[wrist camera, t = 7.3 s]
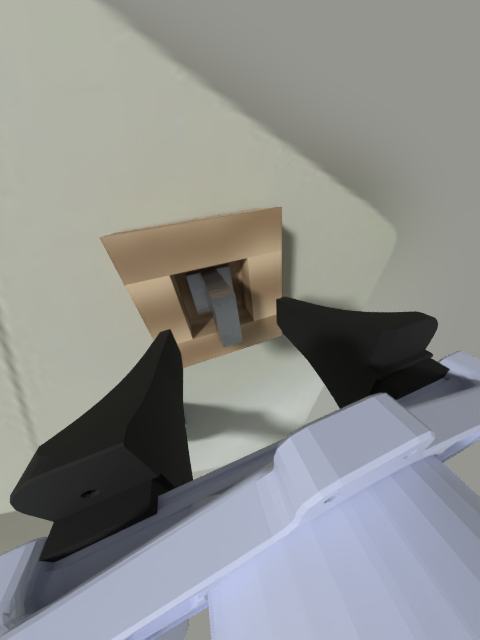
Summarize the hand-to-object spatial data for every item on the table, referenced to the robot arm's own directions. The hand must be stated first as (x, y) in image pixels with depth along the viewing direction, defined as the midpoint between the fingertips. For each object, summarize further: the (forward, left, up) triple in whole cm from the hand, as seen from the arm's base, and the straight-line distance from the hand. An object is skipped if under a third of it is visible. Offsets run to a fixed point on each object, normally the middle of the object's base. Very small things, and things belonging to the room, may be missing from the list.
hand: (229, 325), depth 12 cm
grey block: (0, 0, -7) cm, 7 cm away
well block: (0, 0, -8) cm, 8 cm away
